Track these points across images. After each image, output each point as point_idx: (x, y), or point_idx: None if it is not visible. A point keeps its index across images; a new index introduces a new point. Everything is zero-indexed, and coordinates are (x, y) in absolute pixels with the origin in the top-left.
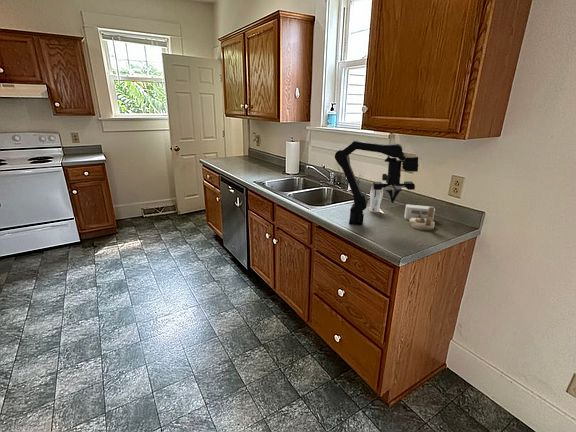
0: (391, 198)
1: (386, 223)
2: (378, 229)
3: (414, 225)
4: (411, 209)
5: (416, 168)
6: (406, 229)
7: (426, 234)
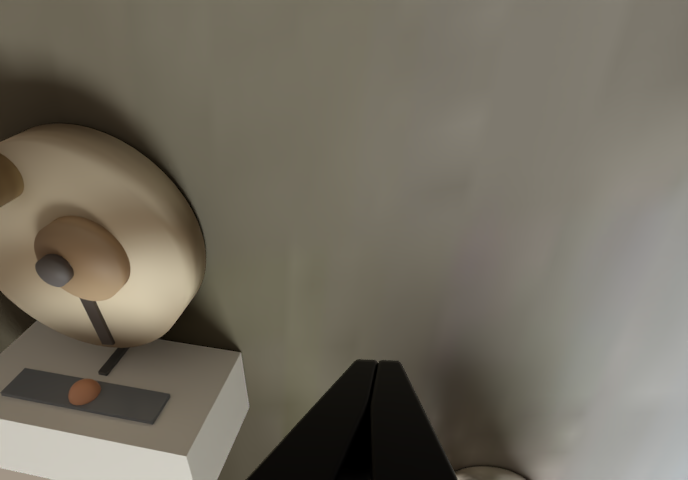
0: (410, 458)
1: (427, 245)
2: (581, 25)
3: (137, 174)
4: (153, 429)
5: None
6: (225, 114)
7: (21, 11)
